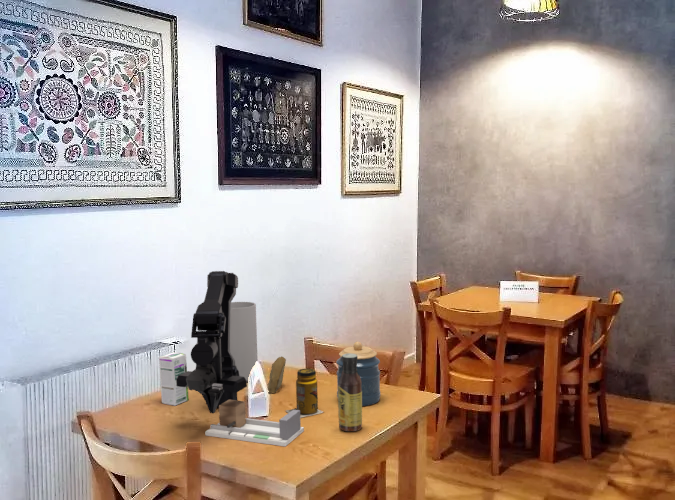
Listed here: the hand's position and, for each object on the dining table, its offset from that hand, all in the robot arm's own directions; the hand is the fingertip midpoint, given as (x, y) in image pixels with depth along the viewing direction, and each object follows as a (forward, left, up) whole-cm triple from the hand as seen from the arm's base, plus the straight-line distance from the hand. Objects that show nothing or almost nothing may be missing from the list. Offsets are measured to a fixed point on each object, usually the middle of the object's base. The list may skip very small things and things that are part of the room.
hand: (212, 412), depth 176 cm
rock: (-1, +36, -4) cm, 37 cm away
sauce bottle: (+35, +11, -4) cm, 37 cm away
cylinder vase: (-17, +43, -4) cm, 46 cm away
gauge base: (+13, 0, -4) cm, 13 cm away
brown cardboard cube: (+6, -2, -3) cm, 7 cm away
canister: (+29, +34, -4) cm, 45 cm away
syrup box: (-23, +15, -4) cm, 28 cm away
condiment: (+18, +19, -4) cm, 27 cm away
